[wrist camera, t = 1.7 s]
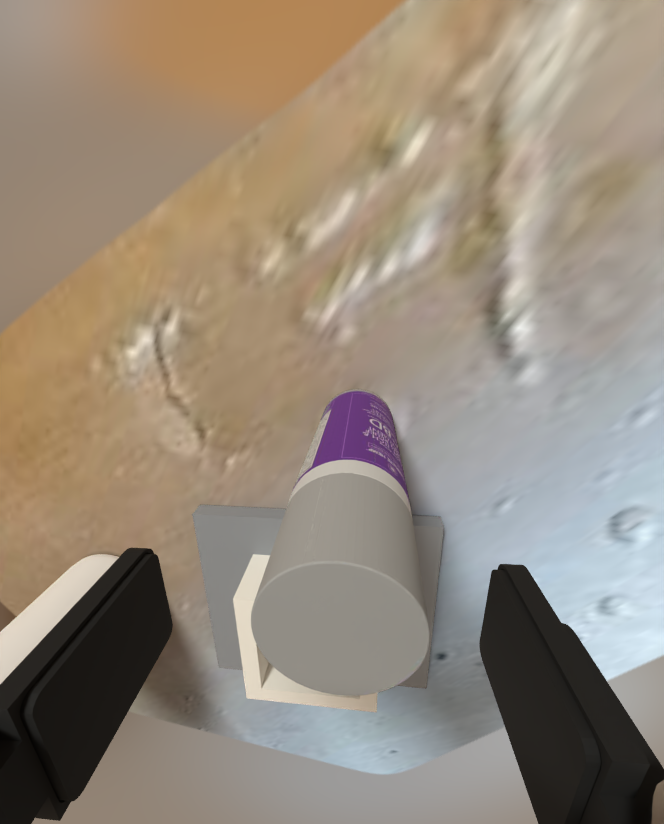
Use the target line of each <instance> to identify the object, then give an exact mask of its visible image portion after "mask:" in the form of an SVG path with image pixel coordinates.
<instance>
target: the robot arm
mask: <svg viewBox="0 0 664 824" xmlns="http://www.w3.org/2000/svg"><path fill="white" fill-rule="evenodd" d="M172 626H173V624H172V618H171V614H170V609H169V605H168V600H167V596H166V591H165V586H164V582H163V577H162V573H161V568H160V563H159V559H158V556H157V555H156V554H154V553H153V551H152V550H151V549H147V548H129V549H127V550H126V551H125V552H124V553H123V554H122V555H121V556H120V557H119V558H118V559H117V560H116V561H115V562H114V563H113V564H112V565H111V567H110V568H109V569H108V570H107V571H106V572H105V573H104V574H103V575H102V576H101V577H100V578H99V579H98V580H97V581H96V583H95V584H94V585H93V586H92V587H91V588H90V589H89V590H88V591H87V592H86V593H85V594H84V595H83V596H82V598H81V599H80V600H79V601H78V602H77V603H76V604H75V605H74V606H73V607H72V608H71V609H70V610H69V611H68V612H67V614H66V615H65V616H64V617H63V618H62V619H61V620H60V621H59V622H58V623H57V624H56V625H55V626H54V627H53V629H52V630H51V631H50V632H49V633H48V634H47V635H46V636H45V637H44V638H43V639H42V640H41V641H40V642H39V643H38V645H37V646H36V647H35V648H34V649H33V650H32V651H31V652H30V653H29V654H28V655H27V656H26V657H25V658H24V660H23V661H22V662H21V663H20V664H19V665H18V666H17V667H16V668H15V669H14V670H13V671H12V672H11V673H10V674H9V676H8V677H7V678H6V679H5V680H4V681H3V682H2V683H1V684H0V824H31V823H32V821H33V820H34V818H35V817H36V818H41V819H50V820H59V821H60V820H61V818H62V816H63V814H64V813H65V811H66V809H67V808H68V806H69V804H70V802H71V801H74V800H76V799H77V798H78V796H80V794H81V793H82V791H83V790H84V788H85V787H86V785H87V783H88V781H89V780H90V778H91V776H92V774H93V773H94V771H95V769H96V767H97V765H98V764H99V762H100V760H101V758H102V757H103V755H104V753H105V751H106V750H107V748H108V746H109V744H110V742H111V741H112V739H113V737H114V735H115V734H116V732H117V730H118V728H119V726H120V724H121V723H122V721H123V719H124V718H125V716H126V714H127V712H128V711H129V709H130V707H131V705H132V703H133V702H134V700H135V698H136V696H137V695H138V693H139V691H140V689H141V687H142V686H143V684H144V682H145V680H146V679H147V677H148V675H149V673H150V671H151V670H152V668H153V666H154V664H155V663H156V661H157V659H158V657H159V655H160V654H161V652H162V650H163V648H164V647H165V645H166V643H167V641H168V639H169V637H170V635H171V632H172ZM480 653H481V657H482V661H483V663H484V666H485V669H486V672H487V675H488V678H489V681H490V684H491V687H492V690H493V693H494V696H495V698H496V701H497V704H498V707H499V710H500V713H501V716H502V719H503V722H504V725H505V728H506V730H507V733H508V736H509V739H510V742H511V745H512V748H513V751H514V754H515V757H516V760H517V762H518V765H519V768H520V771H521V774H522V777H523V780H524V783H525V786H526V788H527V792H528V795H529V797H530V800H531V803H532V806H533V809H534V812H535V814H536V818H537V821H538V824H664V769H663V767H662V765H661V764H660V762H659V761H658V759H657V758H656V756H655V755H654V753H653V752H652V750H651V749H650V747H649V746H648V744H647V742H646V741H645V739H644V738H643V736H642V735H641V734H640V732H639V730H638V729H637V727H636V726H635V724H634V723H633V721H632V719H631V718H630V716H629V715H628V713H627V712H626V710H625V709H624V707H623V706H622V704H621V703H620V701H619V699H618V698H617V696H616V695H615V693H614V692H613V690H612V689H611V687H610V686H609V684H608V683H607V681H606V679H605V678H604V676H603V675H602V673H601V672H600V670H599V669H598V667H597V666H596V664H595V663H594V661H593V660H592V658H591V656H590V655H589V653H588V652H587V650H586V649H585V647H584V646H583V644H582V643H581V641H580V640H579V638H578V636H577V635H576V634H575V632H574V631H573V630H572V629H571V628H570V627H569V626H568V625H566V624H563V623H561V622H560V620H559V619H558V617H557V615H556V614H555V612H554V611H553V609H552V607H551V606H550V604H549V603H548V601H547V600H546V598H545V596H544V595H543V593H542V592H541V590H540V588H539V587H538V585H537V584H536V582H535V580H534V579H533V577H532V576H531V574H530V572H529V571H528V569H527V568H526V567H525V566H524V565H511V564H500V565H499V567H498V570H493V571H492V573H491V578H490V584H489V590H488V596H487V602H486V608H485V614H484V620H483V626H482V631H481V637H480Z"/></svg>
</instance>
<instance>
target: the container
mask: <svg viewBox="0 0 664 824" xmlns="http://www.w3.org/2000/svg"><path fill="white" fill-rule="evenodd" d="M251 628H252V633H253V636H254V639H255V642H256V644H257V646H258V648H259V650H260V651H261V653H262V654H263V656H264V657H265V658H266V659H267V661H268V662H269V663H270V664H271V665H272V666H273V667H274V668H275V669H277V670H278V671H279V672H280V673H282V674H283V675H284V676H286V677H287V678H289V679H291V680H293V681H294V682H296V683H298V684H300V685H302V686H305V687H307V688H310V689H313V690H316V691H320V692H323V693H328V694H334V695H344V696H359V695H368V694H374V693H378V692H381V691H385V690H388V689H390V688H392V687H395V686H397V685H399V684H400V683H402V682H404V681H405V680H407V679H408V678H409V677H410V676H412V675H413V674H414V673H415V672H416V671H417V670H418V668H419V667H420V666H421V664H422V663H423V661H424V659H425V657H426V654H427V652H428V649H429V644H430V628H429V622H428V615H427V609H426V603H425V596H424V590H423V584H422V577H421V571H420V565H419V558H418V552H417V545H416V539H415V533H414V526H413V520H412V514H411V506H410V501H409V496H408V491H407V487H406V482H405V477H404V472H403V467H402V462H401V458H400V453H399V448H398V443H397V438H396V433H395V428H394V424H393V419H392V415H391V412H390V409H389V407H388V406H387V404H386V403H385V402H384V401H383V400H382V399H381V398H380V397H379V396H378V395H376V394H374V393H372V392H370V391H366V390H360V389H354V390H348V391H345V392H342V393H340V394H338V395H337V396H335V397H334V398H333V399H332V400H331V401H330V402H329V404H328V405H327V407H326V409H325V411H324V413H323V416H322V418H321V421H320V423H319V426H318V428H317V431H316V433H315V436H314V438H313V441H312V443H311V446H310V448H309V451H308V453H307V456H306V458H305V461H304V463H303V466H302V468H301V471H300V473H299V476H298V478H297V481H296V483H295V486H294V488H293V491H292V493H291V497H290V500H289V503H288V506H287V508H286V511H285V514H284V517H283V520H282V523H281V526H280V529H279V531H278V534H277V537H276V540H275V543H274V546H273V549H272V552H271V555H270V557H269V560H268V563H267V566H266V569H265V572H264V575H263V578H262V581H261V583H260V586H259V589H258V592H257V595H256V598H255V601H254V604H253V607H252V611H251Z"/></svg>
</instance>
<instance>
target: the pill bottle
mask: <svg viewBox="0 0 664 824" xmlns="http://www.w3.org/2000/svg"><path fill="white" fill-rule="evenodd" d="M118 558H119V557H118V556H114V555H109V554H96V555H91V556H88V557H86V558H83V559H82V560H80V561H78V562H77V563H76V564H75V565H73V566H72V567H71V568H69V569H68V570H67V571H66V572H65V573H64V574H63V575H62V576H61V577H60V578H59V579H57V580H56V581H55V582H54V583H53V584H52V585H51V586H50V587H49V588H48V589H47V590H45V591H44V592H43V593H42V594H41V595H40V596H39V597H38V598H37V599H36V600H35V601H33V602H32V603H31V604H30V605H29V606H28V607H27V608H26V609H25V610H24V611H23V612H22V613H20V614H19V615H18V616H17V617H16V618H15V619H14V620H13V621H12V622H11V623H10V624H8V625H7V626H6V627H5V628H4V629H3V630H2V631H1V632H0V684H1V683H2V682H3V681H4V680H5V679H6V678H7V677H8V676H9V674H10V673H11V672H12V671H13V670H14V669H15V668H16V667H17V666H18V665H19V664H20V663H21V662H22V661H23V660H24V658H25V657H26V656H27V655H28V654H29V653H30V652H31V651H32V650H33V649H34V648H35V647H36V646H37V645H38V643H39V642H40V641H41V640H42V639H43V638H44V637H45V636H46V635H47V634H48V633H49V632H50V631H51V630H52V629H53V627H54V626H55V625H56V624H57V623H58V622H59V621H60V620H61V619H62V618H63V617H64V616H65V615H66V614H67V612H68V611H69V610H70V609H71V608H72V607H73V606H74V605H75V604H76V603H77V602H78V601H79V600H80V599H81V598H82V596H83V595H84V594H85V593H86V592H87V591H88V590H89V589H90V588H91V587H92V586H93V585H94V584H95V583H96V581H97V580H98V579H99V578H100V577H101V576H102V575H103V574H104V573H105V572H106V571H107V570H108V569H109V568H110V567H111V565H112V564H113V563H114V562H115V561H116V560H117V559H118Z"/></svg>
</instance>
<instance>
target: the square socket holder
mask: <svg viewBox="0 0 664 824" xmlns="http://www.w3.org/2000/svg"><path fill="white" fill-rule="evenodd" d="M285 511H286V509H276V508H256V507H236V506H215V505H200V506H199V507H198V508H197V509H196V510H195V512H194V513H193V520H194V526H195V532H196V538H197V544H198V549H199V555H200V561H201V567H202V573H203V578H204V584H205V590H206V596H207V602H208V608H209V613H210V619H211V625H212V631H213V637H214V642H215V648H216V654H217V660H218V666H219V668H227V669H237V670H243V674H244V682H245V689H246V696H247V698H249V699H259V700H268V701H277V702H286V703H295V704H305V705H314V706H323V707H332V708H341V709H351V710H360V711H369V712H377V693H374V694H368V695H359V696H344V695H334V694H328V693H323V692H320V691H316V690H313V689H310V688H307V687H305V686H302V685H300V684H298V683H296V682H294V681H293V680H291V679H289V678H287V677H286V676H284V675H283V674H282V673H280V672H279V671H278V670H277V669H275V668H274V667H273V666H272V665H271V664H270V663H269V662H268V661H267V659H266V658H265V657H264V656H263V654H262V653H261V651H260V650H259V648H258V646H257V644H256V642H255V639H254V636H253V633H252V628H251V611H252V607H253V604H254V601H255V598H256V595H257V592H258V589H259V586H260V583H261V581H262V578H263V575H264V572H265V569H266V566H267V563H268V560H269V557H270V555H271V552H272V549H273V546H274V543H275V540H276V537H277V534H278V531H279V529H280V526H281V523H282V520H283V517H284V514H285ZM412 520H413V526H414V533H415V539H416V545H417V552H418V558H419V565H420V571H421V577H422V584H423V590H424V596H425V603H426V609H427V615H428V622H429V628H430V644H429V649H428V652H427V654H426V657H425V659H424V661H423V663H422V664H421V666H420V667H419V668H418V670H417V671H416V672H415V673H414V674H413V675H412V676H410V677H409V678H408V679H407V680H405V681H404V682H402V683H400V684H399V685H397V686H407V687H417V688H426V687H427V678H428V668H429V659H430V650H431V641H432V632H433V623H434V613H435V604H436V595H437V586H438V577H439V567H440V558H441V549H442V540H443V531H444V526H443V523H442V520H441V517H439V516H419V515H412Z"/></svg>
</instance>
